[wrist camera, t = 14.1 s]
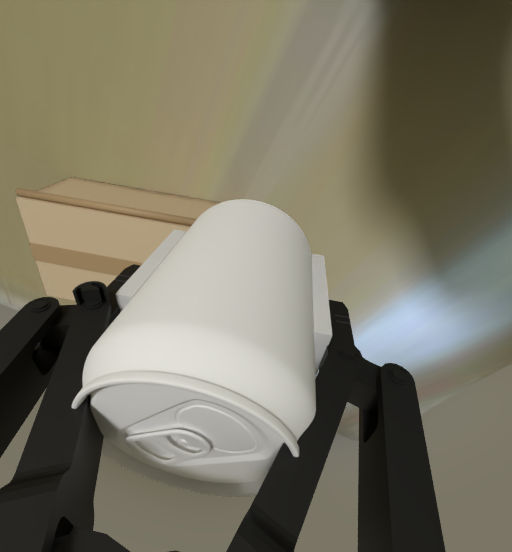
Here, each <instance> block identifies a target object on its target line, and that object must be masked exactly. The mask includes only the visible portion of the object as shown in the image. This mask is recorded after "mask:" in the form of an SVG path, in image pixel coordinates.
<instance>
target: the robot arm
mask: <svg viewBox="0 0 512 552" xmlns="http://www.w3.org/2000/svg"><path fill="white" fill-rule="evenodd" d="M185 233H186V231H181V230H176V229H174V230H173V231H172V232H171V234H170V235H169V236H168V237H167V238H166V239H165V240H164V241H163V242H162V243H161V244H160V246H159V247H158V248H157V249H156V250H155V251H154V252H153V253H152V254H151V255H150V256H149V258H148V259H147V260H146V261H145V262H144V263H143V264H142V265H141V266H140V265H135V264H133V265H131V266H129V267H127V268H125V269H124V270H123V271H122V272H121V273H120V274H119V275H118V276H117V277H116V278H115V280H113V281H112V282H111V283H110V284H109V285H108V286H107V287H106V285H105V284H104V283H102V282H99V281H90V282H85V283H82V284H80V285H78V286H77V287H75V288H74V290H73V291H72V292H73V295H74V298H75V300H76V303H77V305H60V304H59V301H58V300H57V299H55V298H52V297H42V298H38V299H35V300H33V301H31V302H29V303H28V304H26V305H25V306H24V307H23V308H22V309H21V310H20V311H19V312H18V313H17V314H16V315H15V316H14V317H13V318H12V319H11V320H10V321H9V322H8V323H7V324H6V325H5V326H4V327H3V328H2V329H1V330H0V458H1V456H2V454H3V453H4V451H5V450H6V448H7V447H8V445H9V444H10V442H11V441H12V439H13V438H14V436H15V435H16V433H17V432H18V430H19V429H20V427H21V426H22V424H23V423H24V421H25V419H26V418H27V417H28V415H29V413H30V412H31V410H32V409H33V407H34V406H35V404H36V403H37V401H38V400H39V398H40V397H41V395H42V393H43V392H44V391H45V389H46V388H47V389H46V391H45V394H44V397H43V400H42V402H41V405H40V408H39V410H38V413H37V416H36V418H35V421H34V424H33V427H32V429H31V432H30V435H29V437H28V440H27V443H26V446H25V448H24V451H23V454H22V457H21V459H20V462H19V465H18V467H17V470H16V473H15V475H14V477H13V479H12V480H11V482H10V483H9V484H7V485H5V486H4V487H2V488H1V489H0V552H130V551H129V550H127V549H126V548H125V547H123V546H122V545H120V544H119V543H118V542H116V541H115V540H114V539H112V538H111V537H110V536H108V535H107V534H104V533H100V532H96V531H93V525H94V506H93V500H94V492H95V486H96V480H97V474H98V468H99V462H100V457H101V451H102V445H103V439H104V435H103V434H102V433H101V431H100V429H99V427H98V424H97V422H96V420H95V418H94V416H93V413H92V411H91V409H90V395H88V396H87V397H86V398H85V400H84V401H83V402H82V404H81V405H80V406H79V407H78V408H76V409H73V408H72V403H73V401H74V399H75V397H76V395H77V394H78V393H79V391H80V390H81V389H82V388H83V382H82V376H83V369H84V364H85V361H86V358H87V356H88V354H89V352H90V350H91V349H92V347H93V346H94V344H95V343H96V342H97V341H98V339H99V338H100V337H101V336H102V334H103V333H104V332H105V331H106V329H107V328H108V327H109V326H110V325H111V323H112V322H113V321H114V320H115V318H116V317H117V316H118V315H119V314H120V312H121V311H122V310H123V309H124V307H125V306H126V305H127V304H128V303H129V301H130V300H131V299H132V298H133V297H134V295H135V294H136V293H137V292H138V290H139V289H140V288H141V287H142V286H143V284H144V283H145V282H146V281H147V279H148V278H149V277H150V276H151V275H152V273H153V272H154V271H155V270H156V268H157V267H158V266H159V265H160V264H161V262H162V261H163V260H164V259H165V257H166V256H167V255H168V254H169V253H170V251H171V250H172V249H173V248H174V246H175V245H176V244H177V243H178V242H179V240H180V239H181V238H182V237H183V235H184V234H185ZM311 264H312V296H313V328H314V352H315V375H316V374H317V372H318V369H319V373H318V375H317V377H316V379H315V389H316V413H315V416H314V419H313V421H312V422H311V424H310V425H309V426H308V428H307V429H306V430H305V431H304V432H303V434H302V435H301V436H300V437H299V439H298V441H297V444H298V446H299V457H294V456H293V455H292V453H291V451H290V449H289V447H288V446H287V444H286V443H285V442H284V443H283V444H282V446H281V448H280V450H279V452H278V454H277V456H276V458H275V460H274V462H273V464H272V466H271V468H270V470H269V472H268V473H267V475H266V477H265V479H264V481H263V483H262V485H261V487H260V489H259V491H258V493H257V495H256V497H255V499H254V501H253V503H252V505H251V507H250V509H249V511H248V512H247V514H246V515H245V517H244V519H243V521H242V522H241V524H240V526H239V528H238V530H237V532H236V534H235V536H234V538H233V540H232V542H231V544H230V546H229V548H228V550H227V552H294V548H295V545H296V542H297V539H298V536H299V533H300V531H301V528H302V525H303V523H304V520H305V517H306V514H307V511H308V509H309V506H310V503H311V500H312V498H313V494H314V492H315V489H316V487H317V484H318V481H319V478H320V475H321V472H322V470H323V467H324V464H325V461H326V458H327V456H328V453H329V450H330V447H331V444H332V442H333V439H334V437H335V434H336V431H337V428H338V426H339V423H340V420H341V417H342V415H343V412H344V409H345V406H346V403H347V402H349V403H351V404H353V405H355V406H357V407H359V485H358V490H359V491H358V552H445V547H444V541H443V536H442V530H441V524H440V519H439V513H438V508H437V503H436V497H435V491H434V486H433V480H432V475H431V469H430V464H429V458H428V453H427V447H426V442H425V437H424V431H423V425H422V420H421V414H420V409H419V403H418V398H417V392H416V387H415V382H414V379H413V377H412V375H411V374H410V373H409V372H408V371H407V370H406V369H404V368H403V367H401V366H399V365H397V364H393V363H387V364H384V365H383V366H382V367H380V366H378V365H375V364H373V363H371V362H369V361H367V360H366V359H364V358H363V357H362V355H361V353H360V351H359V350H358V349H357V348H356V347H355V345H354V340H353V335H352V329H351V324H350V319H349V313H348V309H347V308H346V306H345V305H344V303H343V302H338V301H332V300H329V299H328V290H327V280H326V271H325V261H324V256H323V255H317V254H311ZM170 552H178V551H170Z"/></svg>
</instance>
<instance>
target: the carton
mask: <svg viewBox="0 0 512 552" xmlns="http://www.w3.org/2000/svg"><path fill="white" fill-rule="evenodd" d="M36 191H38V192H44V193H49V194H55V195H61V196H67V197H72V198H78V199H84V200H90V201H96V202H101V203H107V204H113V205H119V206H124V207H130V208H136V209H142V210H147V211H153V212H159V213H165V214H171V215H176V216H182V217H188V218H194V219H197V218H198V217H199V216H200V215H201V214H202V213H204V212H205V211H206V210H208V209H209V208H211V207H213V206H215V205H217V204H219V203H221V202H215V201H209V200H203V199H197V198H191V197H185V196H179V195H174V194H168V193H162V192H156V191H150V190H144V189H138V188H132V187H126V186H120V185H114V184H109V183H103V182H97V181H91V180H85V179H79V178H73V177H70V178H67V179H65V180H62V181H60V182H57V183H54V184H52V185H49V186H47V187H44V188H41V189H39V190H36ZM21 197H23V196H21ZM26 198H29V197H26ZM32 199H35V198H32ZM37 200H41V199H37ZM43 201H46V200H43ZM49 202H52V201H49ZM55 203H58V202H55ZM60 204H64V203H60ZM66 205H69V204H66ZM72 206H75V205H72ZM77 207H81V206H77ZM83 208H86V207H83ZM89 209H92V208H89ZM95 210H98V209H95ZM100 211H104V210H100ZM106 212H109V211H106ZM112 213H115V212H112ZM117 214H121V213H117ZM123 215H126V214H123ZM129 216H132V215H129ZM135 217H138V216H135ZM140 218H144V217H140ZM146 219H149V218H146ZM152 220H155V219H152ZM157 221H161V220H157ZM163 222H166V221H163ZM169 223H172V222H169ZM175 224H178V223H175ZM180 225H184V224H180ZM186 226H189V225H186Z"/></svg>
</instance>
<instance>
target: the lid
mask: <svg viewBox="0 0 512 552" xmlns="http://www.w3.org/2000/svg"><path fill="white" fill-rule="evenodd" d="M16 194H17V195H18V196H23V197H17V198H16V200H17V203H18V206H19V210H20V213H21V216H22V219H23V222H24V225H25V228H26V231H27V234H28V237H29V241H30V246H31V249H32V252H33V255H34V258H35V261H36V262H37V265H38V268H39V272H40V275H41V278H42V281H43V284H44V287H45V290H46V293H47V295H49V296H54V297H59V298H65V299H70V300H75V298H74V295H73V292H72V291H73V290H74V288H75V287H77V286H78V285H80V284H82V283H85V282H90V281H99V282H102V283H104V284H105V285H106V287H107V286H108V285H109V284H110V283H111V282H112V281H113V280H115V278H116V277H117V276H118V275H119V274H120V273H121V272H122V271H123V270H124V269H125V268H127V267H129V266H131V265H133V264H135V265H140V266H141V265H142V264H143V263H144V262H145V261H146V260H147V259H148V258H149V256H150V255H151V254H152V253H153V252H154V251H155V250H156V249H157V248H158V247H159V246H160V244H161V243H162V242H163V241H164V240H165V239H166V238H167V237H168V236H169V235H170V234H171V232H172V231H173V230H174V229H176V230H181V231H186V232H187V231H188V229H189V228H190V227H191V226H192V224H193V223H194V222H195V221H196V220H197V219H194V218H188V217H182V216H176V215H171V214H165V213H159V212H153V211H147V210H142V209H136V208H130V207H124V206H119V205H113V204H107V203H101V202H96V201H90V200H84V199H78V198H72V197H67V196H61V195H55V194H49V193H44V192H38V191H32V190H26V189H21V188H17V189H16ZM26 197H29V198H26ZM32 198H35V199H32ZM37 199H41V200H37ZM43 200H46V201H43ZM49 201H52V202H49ZM55 202H58V203H55ZM60 203H64V204H60ZM66 204H69V205H66ZM72 205H75V206H72ZM77 206H81V207H77ZM83 207H86V208H83ZM89 208H92V209H89ZM95 209H98V210H95ZM100 210H104V211H100ZM106 211H109V212H106ZM112 212H115V213H112ZM117 213H121V214H117ZM123 214H126V215H123ZM129 215H132V216H129ZM135 216H138V217H135ZM140 217H144V218H140ZM146 218H149V219H146ZM152 219H155V220H152ZM157 220H161V221H157ZM163 221H166V222H163ZM169 222H172V223H169ZM175 223H178V224H175ZM180 224H184V225H180ZM186 225H189V226H186ZM75 301H76V300H75Z"/></svg>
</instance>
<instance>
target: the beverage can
mask: <svg viewBox="0 0 512 552" xmlns="http://www.w3.org/2000/svg"><path fill="white" fill-rule="evenodd" d="M82 382H83V388H82V389H81V390H80V391H79V393H78V394H77V395H76V397H75V399H74V401H73V403H72V408H73V409H76V408H78V407H79V406H80V405H81V404H82V402H83V401H84V400H85V398H86V397H87V396H88V395H90V409H91V411H92V413H93V416H94V418H95V420H96V422H97V424H98V427H99V429H100V431H101V433H102V434H103V435H104V439H103V445H102V451H101V454H103V455H104V456H105V457H107V458H109V459H110V460H112V461H113V462H115V463H117V464H118V465H120V466H122V467H124V468H126V469H128V470H130V471H132V472H134V473H136V474H138V475H141V476H143V477H145V478H148V479H151V480H153V481H156V482H159V483H162V484H165V485H168V486H171V487H175V488H178V489H182V490H187V491H191V492H195V493H201V494H207V495H215V496H225V497H251V496H256V495H257V493H258V491H259V489H260V487H261V485H262V483H263V481H264V479H265V477H266V475H267V473H268V472H269V470H270V468H271V466H272V464H273V462H274V460H275V458H276V456H277V454H278V452H279V450H280V448H281V446H282V444H283V443H284V442H285V443H286V444H287V446H288V447H289V449H290V451H291V453H292V455H293V456H294V457H299V446H298V444H297V441H298V439H299V437H300V436H301V435H302V434H303V432H304V431H305V430H306V429H307V428H308V426H309V425H310V424H311V422H312V421H313V419H314V416H315V413H316V389H315V352H314V328H313V296H312V264H311V250H310V246H309V243H308V240H307V238H306V236H305V234H304V233H303V231H302V229H301V228H300V227H299V225H298V224H297V223H296V222H295V221H294V220H293V219H292V218H291V217H290V216H288V215H287V214H286V213H284V212H283V211H281V210H280V209H278V208H276V207H274V206H272V205H269V204H267V203H264V202H260V201H255V200H247V199H238V200H230V201H225V202H222V203H219V204H217V205H215V206H213V207H211V208H209V209H208V210H206V211H205V212H204V213H202V214H201V215H200V216H199V217H198V218H197V220H196V221H195V222H194V223H193V224H192V226H191V227H190V228H189V229H188V231H187V232H186V233H185V234H184V235H183V237H182V238H181V239H180V240H179V242H178V243H177V244H176V245H175V246H174V248H173V249H172V250H171V251H170V253H169V254H168V255H167V256H166V257H165V259H164V260H163V261H162V262H161V264H160V265H159V266H158V267H157V268H156V270H155V271H154V272H153V273H152V275H151V276H150V277H149V278H148V279H147V281H146V282H145V283H144V284H143V286H142V287H141V288H140V289H139V290H138V292H137V293H136V294H135V295H134V297H133V298H132V299H131V300H130V301H129V303H128V304H127V305H126V306H125V307H124V309H123V310H122V311H121V312H120V314H119V315H118V316H117V317H116V318H115V320H114V321H113V322H112V323H111V325H110V326H109V327H108V328H107V329H106V331H105V332H104V333H103V334H102V336H101V337H100V338H99V339H98V341H97V342H96V343H95V344H94V346H93V347H92V349H91V350H90V352H89V354H88V356H87V358H86V361H85V364H84V369H83V376H82Z"/></svg>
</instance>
